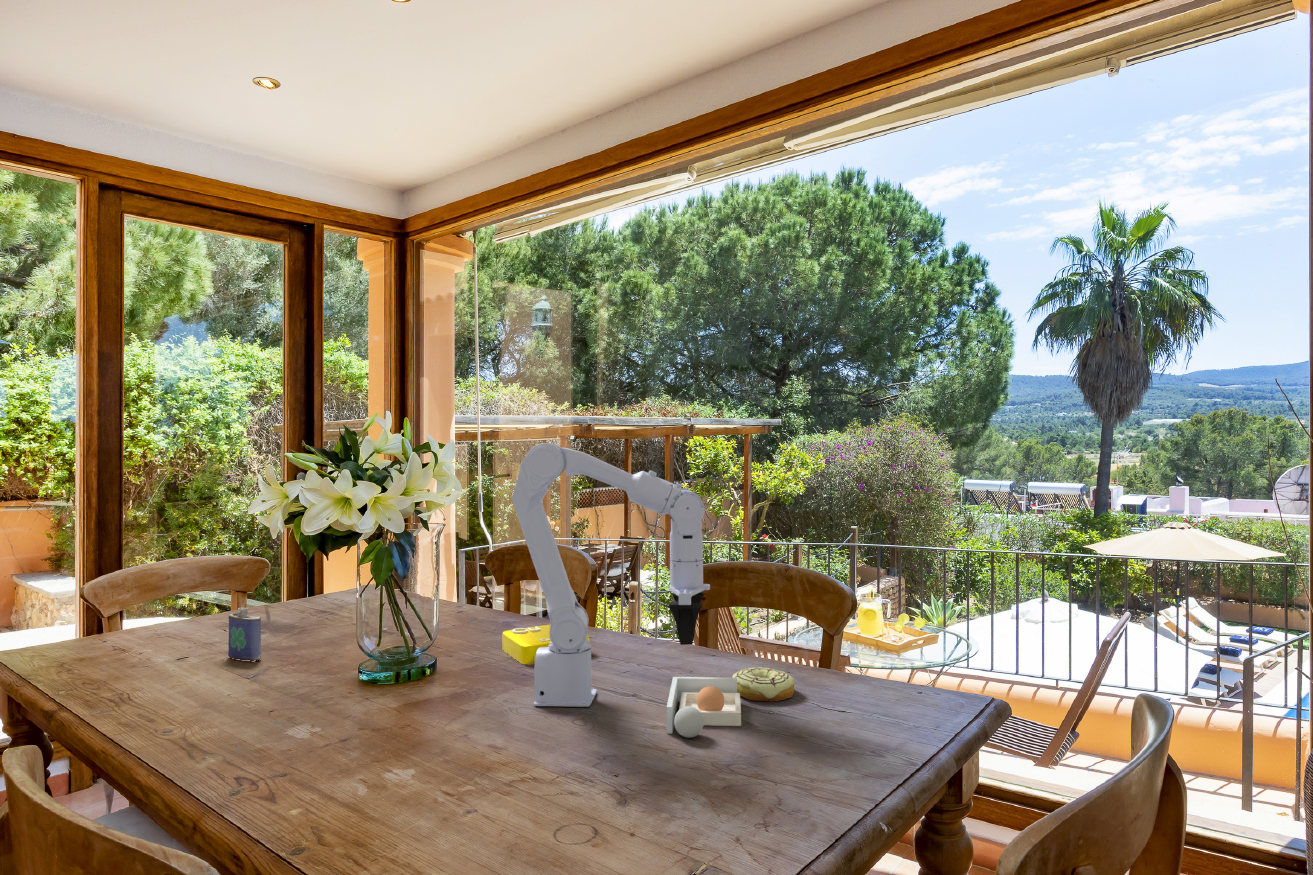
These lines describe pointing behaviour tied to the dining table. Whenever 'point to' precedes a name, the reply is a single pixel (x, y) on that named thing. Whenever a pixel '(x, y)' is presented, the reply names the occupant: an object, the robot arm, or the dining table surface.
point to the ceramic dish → (718, 718)
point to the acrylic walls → (694, 686)
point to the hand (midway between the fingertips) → (687, 638)
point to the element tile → (526, 642)
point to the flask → (244, 636)
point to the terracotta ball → (710, 699)
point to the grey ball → (689, 721)
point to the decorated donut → (764, 684)
